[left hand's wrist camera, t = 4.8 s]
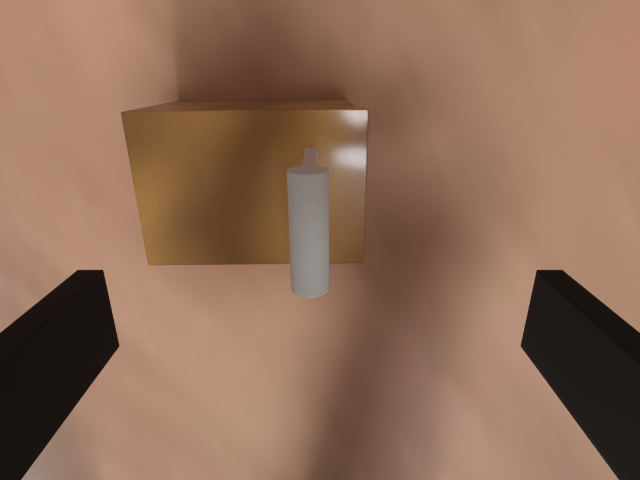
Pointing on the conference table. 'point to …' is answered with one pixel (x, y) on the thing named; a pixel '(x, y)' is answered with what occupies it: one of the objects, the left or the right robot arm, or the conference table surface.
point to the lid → (252, 188)
